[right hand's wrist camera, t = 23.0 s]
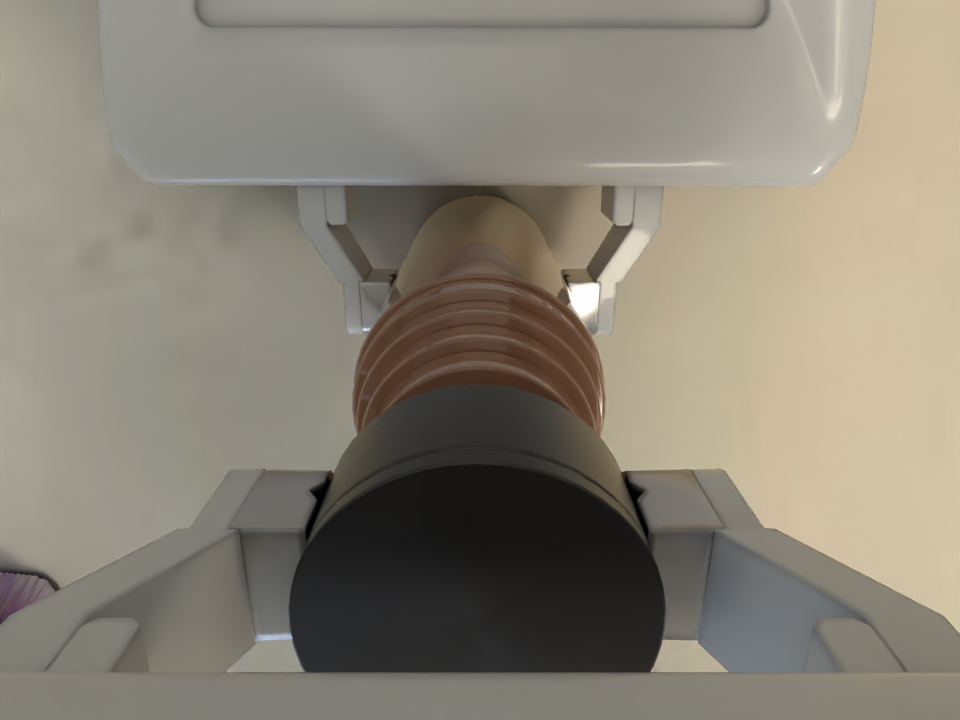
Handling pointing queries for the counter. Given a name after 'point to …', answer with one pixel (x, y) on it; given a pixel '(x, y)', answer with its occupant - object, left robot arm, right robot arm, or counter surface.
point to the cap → (477, 546)
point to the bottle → (479, 317)
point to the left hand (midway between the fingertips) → (480, 329)
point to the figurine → (20, 592)
